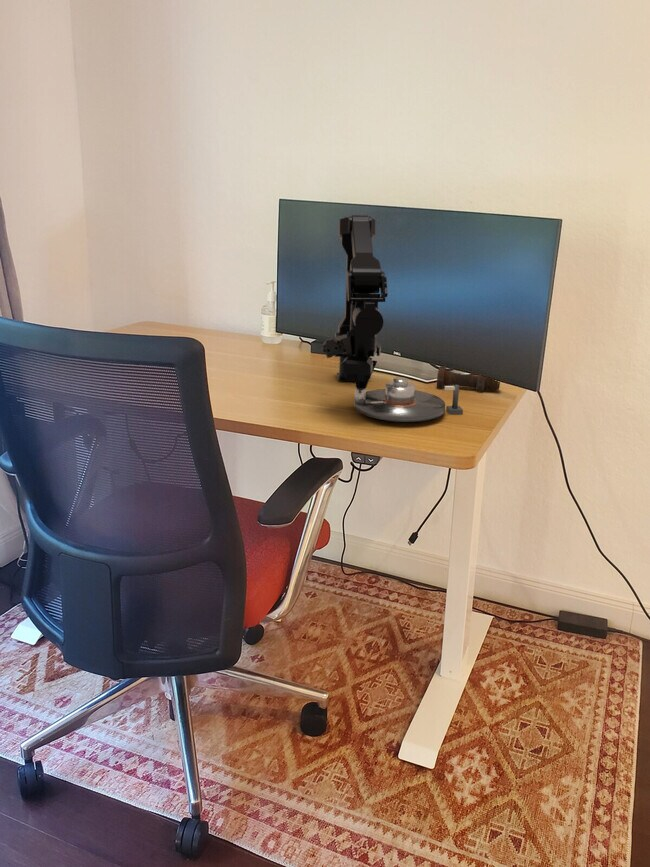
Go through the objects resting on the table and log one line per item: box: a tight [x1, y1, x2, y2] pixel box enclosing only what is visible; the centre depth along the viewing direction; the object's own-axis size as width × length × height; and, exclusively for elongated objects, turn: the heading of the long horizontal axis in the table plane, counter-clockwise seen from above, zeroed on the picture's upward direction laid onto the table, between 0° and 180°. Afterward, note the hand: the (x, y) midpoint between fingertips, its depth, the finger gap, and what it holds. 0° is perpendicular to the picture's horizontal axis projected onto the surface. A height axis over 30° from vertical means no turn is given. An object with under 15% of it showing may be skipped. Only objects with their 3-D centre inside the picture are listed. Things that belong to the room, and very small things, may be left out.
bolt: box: [436, 365, 501, 393], centre depth 184 cm, size 6×5×15 cm
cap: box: [385, 376, 416, 406], centre depth 165 cm, size 6×6×5 cm
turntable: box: [353, 387, 446, 423], centre depth 166 cm, size 20×20×4 cm
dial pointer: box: [443, 385, 464, 415], centre depth 167 cm, size 3×4×6 cm
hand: (360, 394), depth 166 cm, fingers closed
